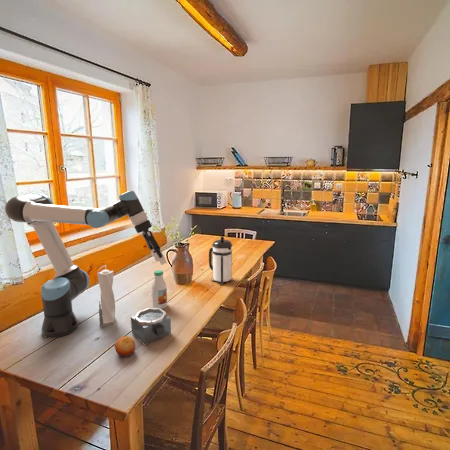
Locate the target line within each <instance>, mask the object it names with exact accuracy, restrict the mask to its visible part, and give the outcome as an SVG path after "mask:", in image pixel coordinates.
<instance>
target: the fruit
mask: <svg viewBox="0 0 450 450" xmlns="http://www.w3.org/2000/svg"><path fill="white" fill-rule="evenodd" d="M114 349H115V352H116V353H117V354H118V356H120V357H121V358H126V357H128V356H130V355H132V354H133V353H134V352H135V351H136V340H135V339H133V337H131V336H127V335H124V336H121V337H119V338H118V339H117V340H116V342H115V343H114Z"/></svg>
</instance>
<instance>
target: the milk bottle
mask: <svg viewBox="0 0 450 450" xmlns="http://www.w3.org/2000/svg"><path fill="white" fill-rule="evenodd" d="M153 276H154V278H153V279H154V280H153V282H152V284H151V285H152V286H151V297H152V301H151V303H152V308H160V309H162V310H163V309H165V308H166V307H168V293H167V291H168V289H167V283H166V281H165V279H164V271H163V270H162V269H158V270H154V272H153Z"/></svg>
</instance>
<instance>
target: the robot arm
mask: <svg viewBox="0 0 450 450" xmlns="http://www.w3.org/2000/svg"><path fill="white" fill-rule="evenodd" d="M118 198H119V200H118V201H116V202H113V203H112V204H109V205H105V206H103V207H100V208H99V207H97V208H96V207H86V206H85V207H83V206H73V205H72V206H71V205H58V204H54V203H53V201H52V200H51V198H50V197H49V196H48V195H46V194H44V193H40V192H39V193H37V192H36V193H30V194H24V195H17V196H14V197H12V198H10V199H9V200H8V201H7V202H6V204H5V207H4V209H5V210H4V211H5V214H6V216H7V217H8V218H9V219H10V220H12V221H14V222H17V223H26V224H27V226H28V227H31V228H33V229H34V231H35V233H36V235H37V237H38V239H39V241H40V243H41V245H42V247H43V249H44V251H45V253H46V255H47V257H48V259H49V260H50V261H49V262H50V263H51V265H52V267H53V269H54V271H55V274H54V278H52V279H49V280H47V281H45V282H44V283H43V284H42V285H41V287H40V288H41V289H40V292H41V294H40V296H41V301H42V309H43V321H42V324H41V325H42V326H41V334H43V335H44V337H45V336H46V337H45V338H48V337H51V338H52V339H54V338H55V337H56V338H61V337H65V336H67V335H69V334H70V335H71V334H72V333H73V332H75V331H76V330H77V329H78V327H79V320H78V318H77V316H76V315H75V313H74V311H73V304H72V303H73V302H72V301H74V300H75V299H76V298H77V297H79V296H80V295H82V294H83V293H84V292H85V291H86V290H87V288H88V287H89V285H90V277H89V274H88V273H87V272H86V271H85V270H83V269H81V268H80V267H79V265H78V264H74V262H73V260H72V258H71V255H70V254H69V252H68V249H67V248H66V246H65V243H64V241H63V240H62V238H61V236H60V233H59V231H58V230H57V228H56V225H55V223H59V224H60V223H61V224H69V225H70V224H72V225H85V226H90V227H92V228H94V229H99V228H103V227H105V226H106V225H109V224H110V223H114V222H115V221H117V220H119V219H121V218H124V217H126V216H128V218H129V220H130V222H131V224H132V226H134V229H135V231H136V233H138V234H140V233H141V235H142V237H143V238H144V241H145V242H146V244H147V248H148V249H149V251H150V252H151V254H152V256H153V258H154V260H155V261H156V263H158V262H159V264H160V265H161V266H163V265H165V264H166V263H168V262H167V259H166V258H165V256H164V254H163V252H162V250H161V247H160V245H159V243H158V242H157V240H156V238H155V236H154V235H153V232H152V231H151V230H149V229H150V228H152V226H153V225H152V222H151V221H150V219H149V218H148V213H147V211H145V209H144V208H143V206H142V203H141V201H140V199H139V197H138V195H137V194H136V192H135V191H134V190H128V191H126V192H124V193H122V194H119V196H118ZM43 335H42V336H43ZM53 337H54V338H53ZM51 338H50V339H51ZM56 338H55V339H56Z"/></svg>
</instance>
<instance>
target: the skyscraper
mask: <svg viewBox="0 0 450 450" xmlns="http://www.w3.org/2000/svg"><path fill="white" fill-rule="evenodd" d="M104 267H105V268H104ZM102 268H104V269H102ZM101 269H102V270H101ZM100 270H101V271H100ZM99 271H100V272H99ZM96 274H97V279H98V280H97V281H98V285H99V289H100V300H99V301H98V302H99V304H98V307H99V308H98V321H99V327H103V326H104V327H105V326H111V325H115V324H116V302H115V301H116V299H115V294H114V290H113V284H114V270H113V269H112V270H109V269H107V265H106V264H104V265H101V266H100V267H99V269H98V270H97V272H96Z"/></svg>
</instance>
